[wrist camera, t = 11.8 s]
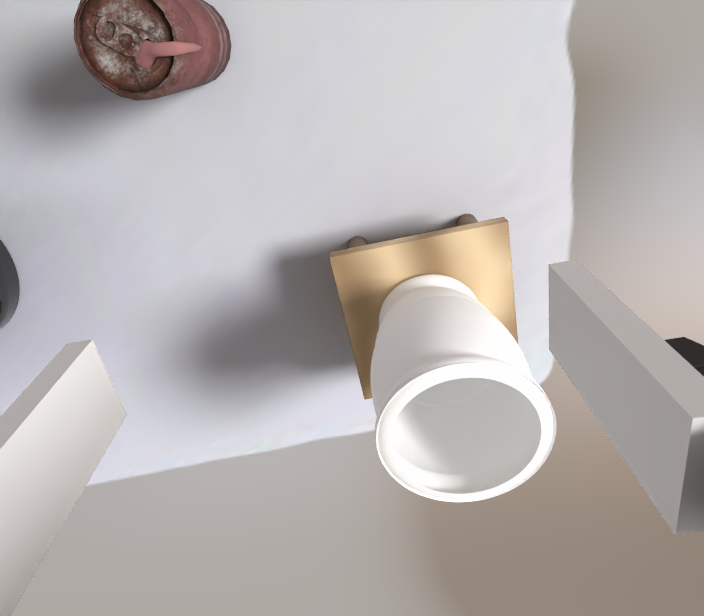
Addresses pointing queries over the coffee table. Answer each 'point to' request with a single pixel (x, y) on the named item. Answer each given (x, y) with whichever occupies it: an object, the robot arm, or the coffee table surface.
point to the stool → (422, 259)
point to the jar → (454, 395)
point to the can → (151, 45)
